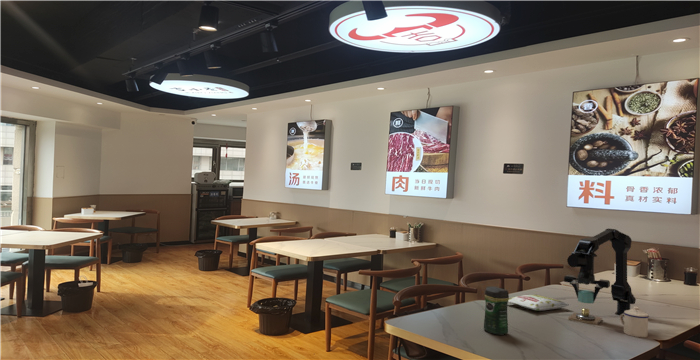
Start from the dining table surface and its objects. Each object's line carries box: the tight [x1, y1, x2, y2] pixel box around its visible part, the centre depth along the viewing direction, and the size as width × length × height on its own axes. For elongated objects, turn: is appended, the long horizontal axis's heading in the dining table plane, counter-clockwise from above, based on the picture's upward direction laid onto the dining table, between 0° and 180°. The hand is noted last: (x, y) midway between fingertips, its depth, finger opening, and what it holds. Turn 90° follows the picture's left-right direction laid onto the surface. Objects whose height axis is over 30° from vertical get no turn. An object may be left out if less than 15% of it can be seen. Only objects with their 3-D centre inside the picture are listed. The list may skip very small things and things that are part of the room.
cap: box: [577, 289, 595, 304], centre depth 216 cm, size 6×6×5 cm
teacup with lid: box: [619, 306, 650, 338], centre depth 198 cm, size 12×9×12 cm
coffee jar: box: [483, 285, 510, 336], centre depth 192 cm, size 10×8×19 cm
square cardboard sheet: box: [567, 308, 603, 326], centre depth 216 cm, size 12×12×5 cm
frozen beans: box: [508, 294, 570, 312], centre depth 236 cm, size 21×6×25 cm
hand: (586, 299), depth 216 cm, fingers closed on cap, 6 cm apart
